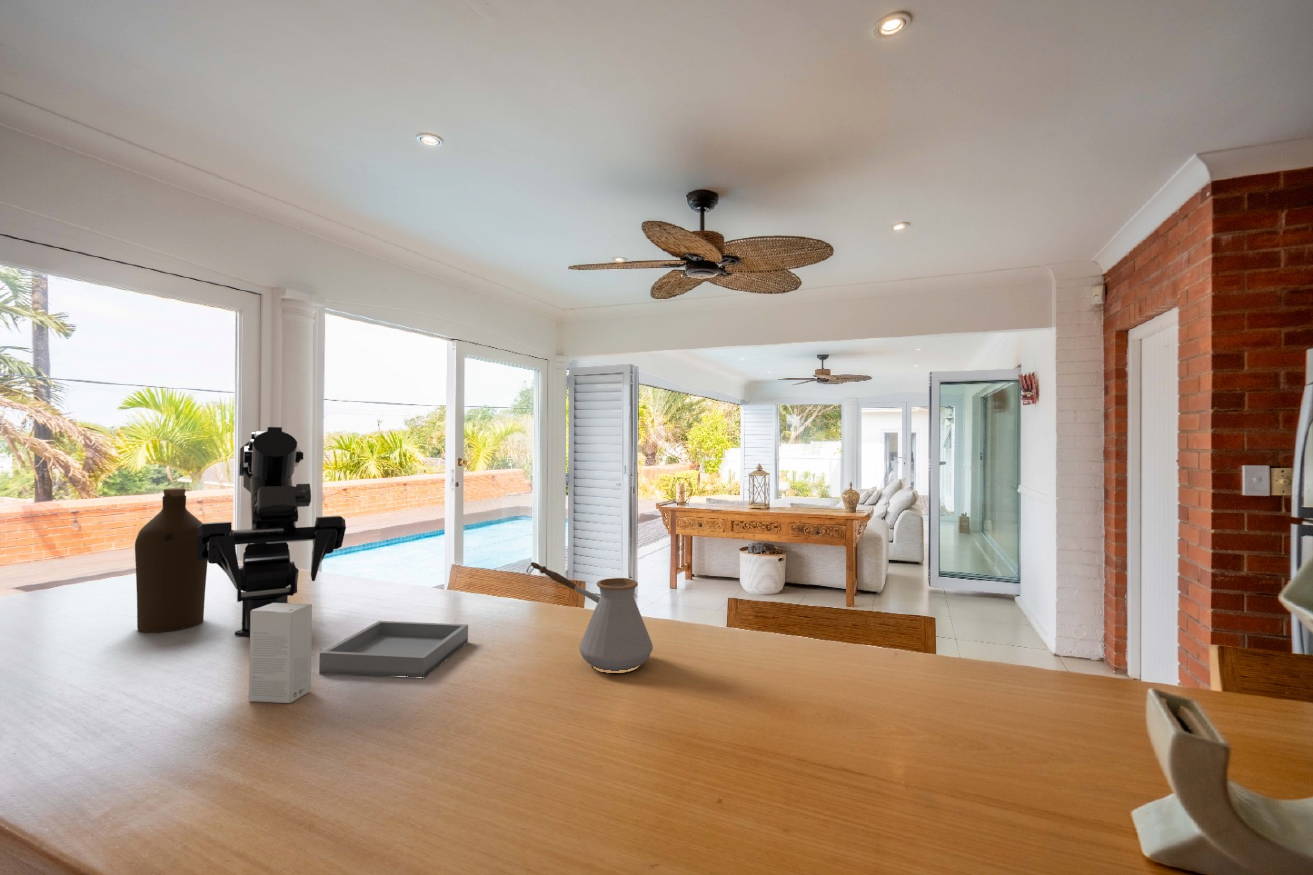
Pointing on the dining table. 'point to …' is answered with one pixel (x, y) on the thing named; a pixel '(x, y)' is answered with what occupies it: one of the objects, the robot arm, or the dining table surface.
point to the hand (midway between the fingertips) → (277, 583)
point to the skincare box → (280, 652)
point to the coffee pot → (611, 624)
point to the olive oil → (169, 568)
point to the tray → (394, 649)
